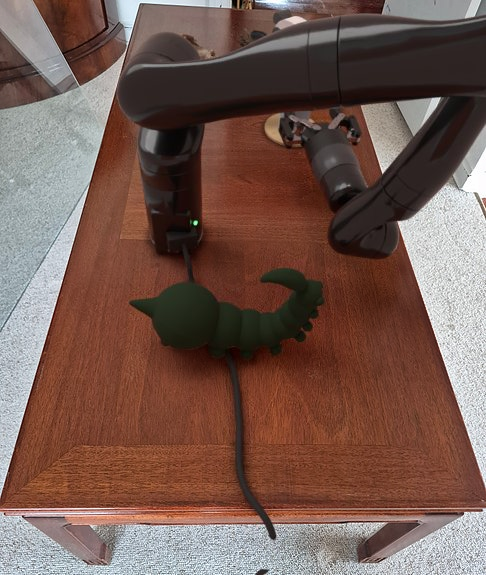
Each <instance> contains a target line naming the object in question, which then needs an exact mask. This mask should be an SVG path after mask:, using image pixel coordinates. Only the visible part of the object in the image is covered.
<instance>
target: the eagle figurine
mask: <svg viewBox="0 0 486 575" xmlns="http://www.w3.org/2000/svg"><path fill="white" fill-rule="evenodd" d="M244 31H245V33H246V35H247V37H248V38H246V39H245V36H243V34H241V33H240V34H239V38H236V41H237V44H239V45H240V48H242V47H244V46H246V45H248V44H250V43H252V42H254V41H256V40H258V39H260V38H262V37H264V36H266V35H268V34H267V33H266V32H264V31H262V30H256V29H254V30H252V31H251V32H249V31H248V29H247V28H244Z"/></svg>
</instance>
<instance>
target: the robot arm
mask: <svg viewBox="0 0 486 575" xmlns="http://www.w3.org/2000/svg"><path fill="white" fill-rule="evenodd" d="M179 34H180V33H179ZM179 34H178V33H176V32H173V31H172V32H171V31H159V32H156V33H154V34H152V35H150V36H149V37H147V38H146V39H145V40H144V41H143V42H142V43H141V44H140V46H139V47H138V49H137V50H136V51H135V52H134V54H133V55H132V57H131V58H130V59H129V61H128V62H127V63H126V65H125V66H124V68H123V69H122V71H121V73H120V76H119V79H118V81H117V85H116V98H117V99H116V100H117V104H118V106H119V108H120V110H121V112H122V114H124V116H125V117H126V118H127V119H129V120H130V121H131V122H132V123H133V124H136V125H137V126H139V129H138V133H137V138H136V151H137V158H138V165H139V170H140V172H139V173H140V179H141V184H142V192H143V199H144V204H145V205H144V206H145V212H146V218H147V225H148V234H149V240H150V242H151V244H152V245H153V246H154V249H155V253H156V254H167V255H168V254H169V255H183V258H184V262H185V266H186V271H187V279H188V282H192V283H196V281H195V276H194V272H193V266H192V261H191V256H190V255H192V254H193V251H194V249H196V248H199V245H200V244H201V243H202V240H203V238H204V227H203V190H202V189H203V188H202V186H203V182H202V172H203V171H202V148H203V141H204V135H205V129H206V124H211V123H215V122H220V121H225V120H231V119H238V118H250V117H259V116H268V115H275V114H278V113H284V117H285V118H284V117H282V118H280V124H279V129H278V131H279V134H280V136H281V138H282V141H283V143H284V145H285V146H284V148H285V149H287V150H291V149H292V148H293V147H292V145H297V144H300V145H301V146H302V147H301V148H303V149H304V151H305V152H304V153H305V155H306V158H307V161H308V164H309V166H310V169H311V173H312V175H313V177H314V180H315V182H316V184H317V185H318V187H319V189H320V191H321V194H322V196H323V199H324V202H325V204H326V206H327V209H328V210H329V211H330V213H332V214H333V216H332V217H331V219H330V221H329V224H328V226H327V233H326V239H327V243H328V245H329V247H330V248H331V249H332V251H334V252H335V253H336V254H339V255H341V256H347V257H352V258H353V257H354V258H360V259H367V260H373V261H379V260H385V259H387V258H389V257H390V256H392V255H393V253H394V252H395V251H396V250H397V247H398V245H399V240H400V229H399V225H398V222H404V221H409V220H411V219H412V218H413V217H415V216H416V215H417V214H418V213H419V212H420V211H421V210H422V209H423V208H424V207H425V206H426V205H428V203H429V202H431V200H433V198H434V197H436V195H437V194H438V193H440V191H441V190H442V189H443V188H444V187H445V186H446V184H447V183H448V182H449V181H450V180H451V178H452V177H453V176H454V175H455V173H456V172H457V170H458V169H459V168H460V166H461V164H462V163H463V162H464V160H465V158H466V156H467V155H468V154H469V152H470V150H471V149H472V147H473V145H474V143H476V140H477V139H478V137H479V136H480V134H481V132H482V131H483V130H484V128H485V127H486V14H481V15H475V16H468V17H466V18H465V17H464V18H456V19H444V20H443V19H442V20H438V19H424V18H423V19H422V18H416V17H415V18H414V17H407V16H400V15H393V14H382V13H365V12H364V13H348V14H341V15H334V16H328V17H321V18H316V19H309V20H306V21H305V22H301V23H297V24H294V25H291V26H288V27H285V28H283V29H280V30H278V31H276V32H273V33H272V32H271V33H269V34H267V35H266V36H264V37H262V38H260V39H258V40H256V41H254V42H252V43H250V44H248V45H246V46H244V47H242V48H241V47H240V48H237V49H235V50H233V51H230V52H228V53H224V54H222V55H218V57H214V58H208V59H201V57H200V55H199V53H198V51H197V50H196V48H195V47H194V46H193V45H192V44H191V43H190V42H189V41H188V40H187V39H186V38H184V37H183V36H181V35H179ZM437 98H439V99H440V101H439V103H438V104H437V106H436V107H435V109H434V110H433V111H432V112H431V114H430V115H429V116H428V117H427V119H426V120H425V122H424V123H423V124H422V125H421V127H420V128H419V129H418V131H416V133H415V134H414V135H413V137H412V138H411V139H410V141H409V142H408V143H407V144H406V145H405V147H403V149H402V150H401V151H400V152H399V153H398V155H397V156H396V157H395V158H394V159H393V161H392V162H391V163H390V164H389V165H388V167H387V168H386V169H385V170H384V172H383V173H382V174H381V175H380V176H379V178H378V179H377V180H376V181H375V182H374V183H372V184H371V185H369V186H368V183H367V181H366V178H365V175H363V172H362V171H361V167H360V166H361V165H360V163H359V160H358V157H357V155H356V154H355V150H354V149H353V146H354V147H358V146H359V144H360V142H361V137H362V134H363V132H362V130H361V127H360V124H359V122H358V119H357V117H356V115H354V114H349V115H347V116H346V114H345V113H343V111H342V109H343V108H344V109H347V108H353V107H359V106H369V105H377V104H379V105H380V104H389V103H390V104H391V103H400V102H410V101H418V100H426V99H437ZM441 98H442V99H441ZM325 110H326V111H327V110H328V114H329V117H330V118H331V120H332V121H331V122H330V123H329V122H328V121H323V122H315V123H311V122H309V121H307V120H306V119H304V118H303V119H299V118H297V117H296V116H295V112H297V111H311V112H315V111H325ZM294 124H296V125H297V127H295V126H294ZM304 127H306V129H305V130H304V132H303V129H304ZM342 128H345V130H346V132H347V133H346V132H345V131H344V130H342ZM229 349H230V348H228V349H226V353H225V354H224V357H225V359H226V362H227V365H228V369H229V371H230V376H231V381H232V390H233V403H234V415H235V447H234V448H235V452H234V456H235V457H234V458H235V470H236V475H237V480H238V483H239V486H240V489H241V492H242V494H243V495H244V496H245V499H246V500H247V501H248V503H249V505H250V506H251V508H252V509H253V510H254V511H255V513H256V514H257V515H258V516H259V518H260V519H261V521H262V524H264V527H265V529H266V531H267V534H268V537H269V539H270V540H272V541H275V540H276V539H277V532H276V529H275V526H274V524H273V522H272V520H271V518H270V516H269V515H268V514H267V512H266V511H265V509H264V508H263V506H262V505H261V504H260V503H259V501H258V500H257V499H256V497H255V495H254V494H253V493H252V491H251V489H250V487H249V484H248V483H247V482H248V481H247V480H246V476H245V472H244V464H243V427H244V426H243V414H242V413H243V412H242V401H241V388H240V381H239V376H238V372H237V367H236V364H235V361H234V358H233V356H232V353H231V351H230V350H229ZM269 571H270V569H269V568H260V569H258V571H256V573H255V574H254V575H267V574H268V573H269Z"/></svg>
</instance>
